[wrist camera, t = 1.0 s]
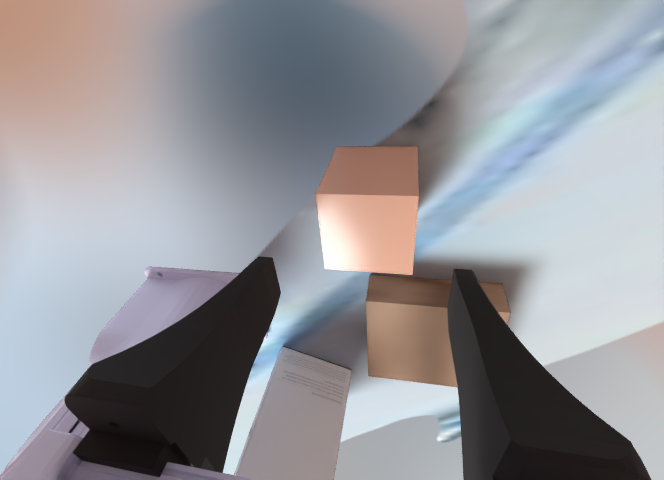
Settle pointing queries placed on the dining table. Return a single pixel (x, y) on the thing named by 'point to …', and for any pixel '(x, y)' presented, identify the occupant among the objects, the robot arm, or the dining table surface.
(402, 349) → the walnut box
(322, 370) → the supplement box
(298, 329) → the dining table surface
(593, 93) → the dining table surface
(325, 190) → the terracotta block
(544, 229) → the dining table surface
